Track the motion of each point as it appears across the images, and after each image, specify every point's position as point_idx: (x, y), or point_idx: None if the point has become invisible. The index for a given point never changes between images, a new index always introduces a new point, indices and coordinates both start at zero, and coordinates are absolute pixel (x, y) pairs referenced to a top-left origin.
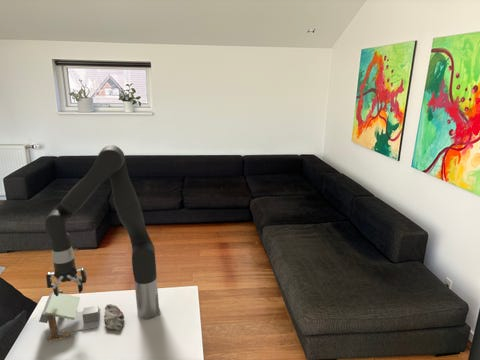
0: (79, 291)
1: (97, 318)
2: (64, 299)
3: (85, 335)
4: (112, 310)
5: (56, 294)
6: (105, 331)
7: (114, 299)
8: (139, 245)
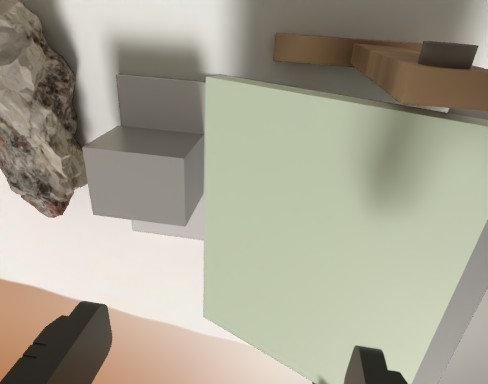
0: (82, 317)
1: (115, 132)
2: (299, 316)
3: (181, 14)
4: (13, 149)
5: (377, 371)
6: (62, 10)
7: (82, 274)
8: None
